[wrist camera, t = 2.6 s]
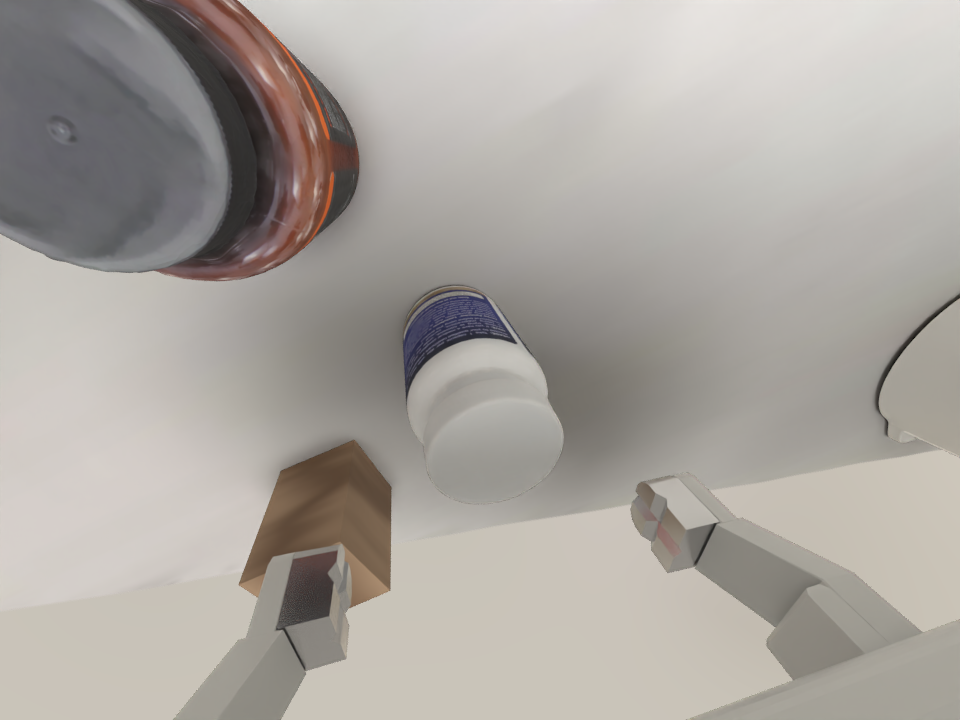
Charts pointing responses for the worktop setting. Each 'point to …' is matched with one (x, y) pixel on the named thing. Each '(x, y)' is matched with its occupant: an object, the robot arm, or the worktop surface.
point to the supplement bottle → (164, 138)
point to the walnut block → (329, 519)
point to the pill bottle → (476, 399)
